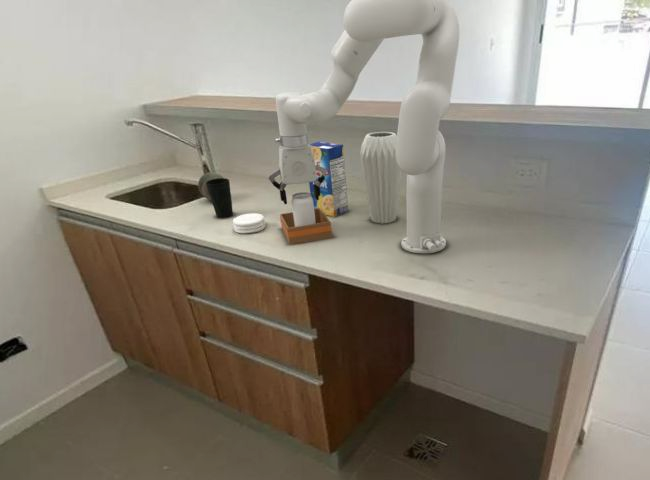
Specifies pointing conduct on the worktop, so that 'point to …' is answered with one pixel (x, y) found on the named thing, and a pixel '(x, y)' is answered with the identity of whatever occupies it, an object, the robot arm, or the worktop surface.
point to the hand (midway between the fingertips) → (301, 200)
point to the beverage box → (330, 178)
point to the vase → (381, 175)
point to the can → (303, 209)
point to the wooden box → (306, 228)
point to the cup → (220, 197)
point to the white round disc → (249, 223)
